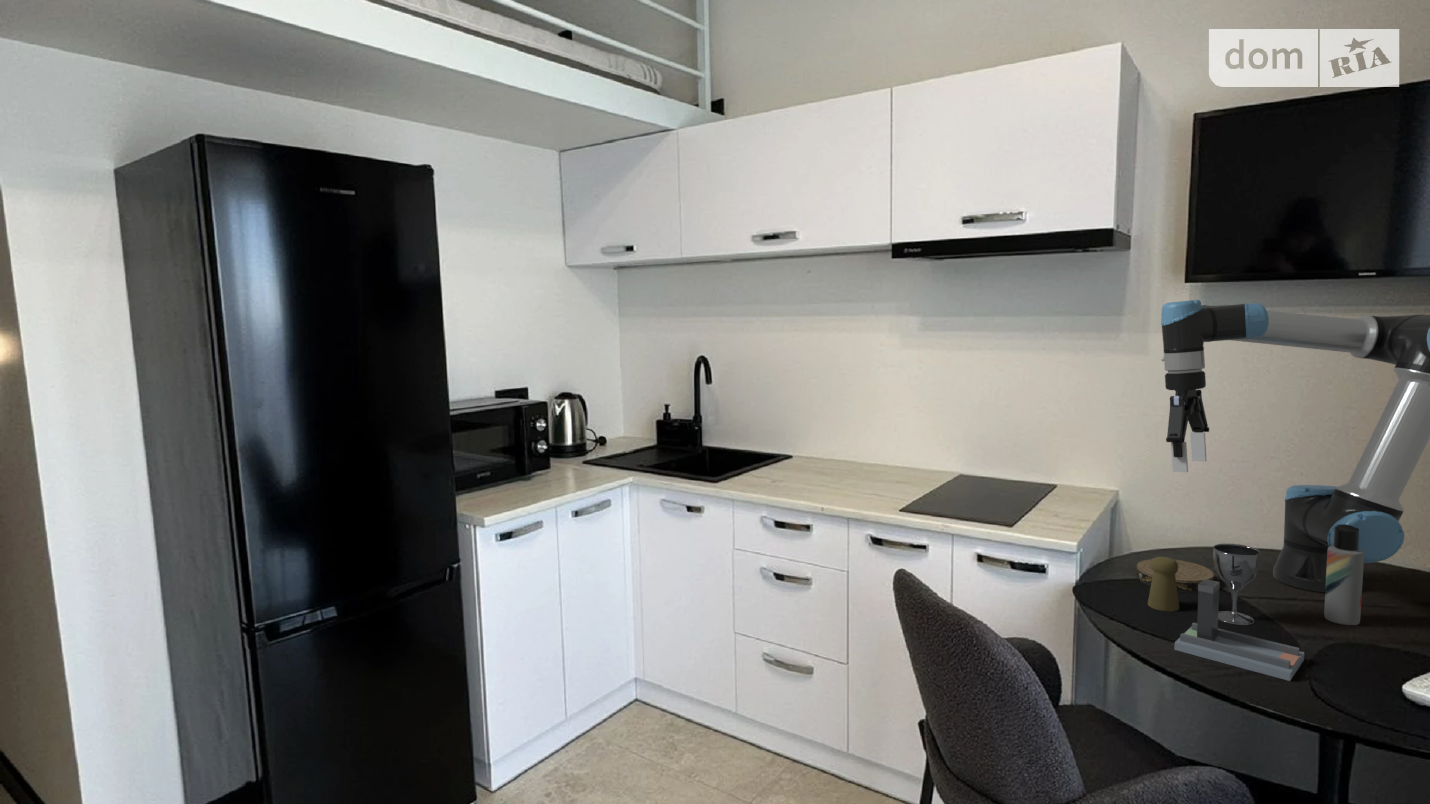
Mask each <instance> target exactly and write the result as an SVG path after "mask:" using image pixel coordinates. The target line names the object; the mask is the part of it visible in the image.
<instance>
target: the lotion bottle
mask: <svg viewBox="0 0 1430 804" xmlns="http://www.w3.org/2000/svg"><path fill="white" fill-rule="evenodd" d="M1358 546H1359V529H1358V528H1355V527H1353V526H1350V525H1345V524H1340V525H1337V527H1335V529H1334V544H1333V546H1330V547H1328V551H1327V570H1326V589H1325V592H1324V593H1325V594H1324V609H1323V610H1324V611H1323V613H1324V614H1323V615H1324V618H1325V619H1326V620H1327V621H1330V622H1332V623H1334V624H1339V625H1343V626H1358V625H1359V624H1360V623H1361V617H1362V616H1361V614H1362V612H1361V611H1362V597H1363V596H1362V595H1363V577H1364V564H1365V563H1364V552H1363V551H1362V550H1360V549H1358Z"/></svg>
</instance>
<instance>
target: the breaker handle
mask: <svg viewBox="0 0 1430 804" xmlns="http://www.w3.org/2000/svg"><path fill="white" fill-rule="evenodd" d="M1220 586H1221V582H1219V581H1215V580H1214V581H1212V580H1207V579H1204V580H1203V581H1202V582H1201V583H1200V584H1198V592H1197V594H1198V595H1197V621H1196V623H1197V637H1199V638H1203V639H1207V640H1211V641H1214V640H1215V639H1216V638H1217V637H1218V628H1219V619H1218V612H1219V608H1220V607H1219V604H1220V603H1219V602H1220V588H1221V587H1220Z"/></svg>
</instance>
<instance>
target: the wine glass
mask: <svg viewBox="0 0 1430 804" xmlns="http://www.w3.org/2000/svg"><path fill="white" fill-rule="evenodd" d="M1212 555H1213V563H1214V568H1215V571H1216V574H1217V575H1218V577H1219V578H1220V579H1221V580H1222V581H1223V583H1225V585H1227V587H1228V589H1229V591H1230V594H1231V611H1229V610H1228V611H1227V610H1225V611H1224V610H1223V611H1222V610H1220V611H1219V610H1218V621H1221V622H1224V623H1227V624H1232V625H1238V626H1248V625H1249V626H1250V625H1253V624H1254V623H1255V622H1256V620H1255V621H1254V618H1253V617H1252V616H1250V615H1247V614H1245V613H1241V612H1238V609H1237V605H1238V599H1239V594H1240V592H1241V590H1242V589H1243V588H1244V587H1246V586H1247V585H1248V584H1250V583H1251V582H1252V581H1253V580H1255V578H1256V576H1257V574H1258V571H1259V568H1260V560H1261V557H1260V556H1261V552H1260V550H1259V549H1257V548H1255V547H1253V546H1249V545H1244V544H1238V543H1217V544H1214V545H1213V553H1212Z"/></svg>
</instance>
